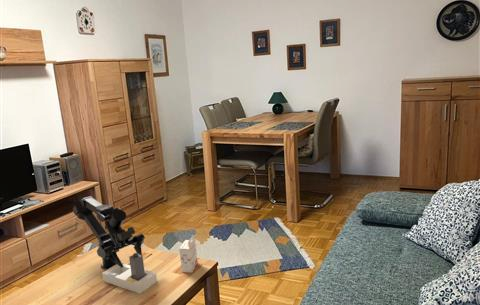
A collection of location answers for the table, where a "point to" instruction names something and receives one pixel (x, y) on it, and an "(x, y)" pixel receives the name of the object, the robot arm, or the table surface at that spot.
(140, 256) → the plug
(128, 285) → the socket block
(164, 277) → the table surface
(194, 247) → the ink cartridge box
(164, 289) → the table surface
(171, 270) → the table surface
